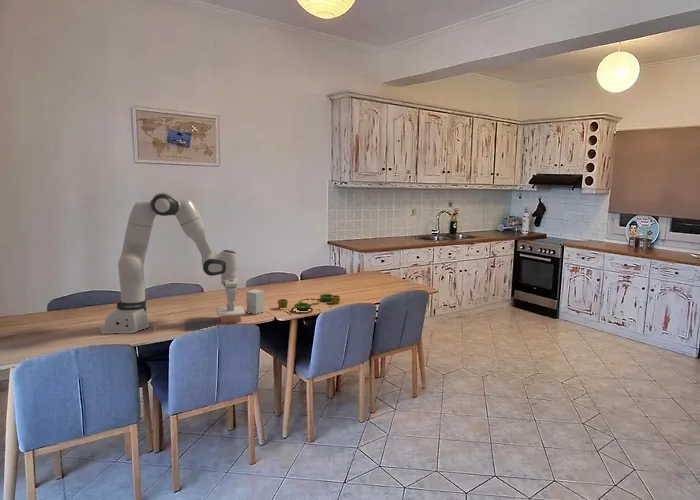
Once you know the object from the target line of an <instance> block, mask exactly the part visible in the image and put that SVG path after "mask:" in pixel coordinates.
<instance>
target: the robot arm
mask: <svg viewBox="0 0 700 500" xmlns="http://www.w3.org/2000/svg"><path fill="white" fill-rule="evenodd" d="M156 216H161V217H167V216H174V217H175V218H176V220H177V222H178V224H179V226H180V228H181V229H182V231H183V233H184V234H185V235H186V237H188V238H190V240H192V241H193V243H194V244H195V245H196V247H197V249H198V251H199V253H200V255H201V265H202V271H203V272H204V273H205V274H206V275H207V276H210V277H214V276H218V275H221V276H220V279H221V280H220V282H221V284H220V285H222V286H223V288H224V292H225V296H226V300H227V303H229V308H230V309H232V308H233V304H234V302H236V300H237V299H236V297H237V288H238V286H239V271H238V268H239V259H238V258H239V257H238V253H237V252H235V251H234V250H231V249H230V250H229V249H224V250H221V252H219V253H217V254H216V253H215V252H214V250H213V249H212V246H211V245H210V242H209V241H208V238H207V233H206V226H205V223H204V220H203V218H202V216H201V214H200V212H199V210H198V208H197V207H196V204H194V203H193V201H192V200H190V199H187V198H184V199H180V200H177V199H175V198H174V196H173V195H172V194H171V193H168V192H159V193H157V194H155V195H154V196H153V197H152V199H151V200H150V201H149V202H148V201H147V202H146V201H139V202H136V203H135V204H134V205H133V206H132V209H131V212H130V214H129V218H128V221H127V225H126V228H125V229H126V230H125V233H124V239H123V243H122V244H123V245H122V250H121V255H120V258H119V259H118V263H117V268H118V278H119V279H118V280H119V286H120V287H119V288H120V299H118V300H117V301H116V309H115V310H112V312H110V313H109V314H108V315H107V317H106V318H105V320H104V321H105V322H104V324H103V325H102V326H101V327H100V328H99V333H100V334H103V335H106V334H110V335H111V334H112V335H113V333H119V334H135V333H137V331H138V332H139V330H141V331H143V330H142V329H144V330H146V329H145V328H147V329H148V327H149V326H151V325H150V324H151V323H150V322H149V318H148V315H147V311H148V310H147V309H148V303H147V299H146V283H145V272H144V265H145V262H146V261H145V260H146V256H147V251H148V246H149V242H150V239H151V234H152V229H153V226H154V220H155V219H156ZM149 328H150V327H149ZM134 332H135V333H134Z"/></svg>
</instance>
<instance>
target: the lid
mask: <svg viewBox="0 0 700 500" xmlns="http://www.w3.org/2000/svg"><path fill="white" fill-rule="evenodd" d="M215 311H216V315H217V317H220V316H231V315H241V316H243V315H246V312H245V310H244V306H243V305H239V306H238V305H236V306H235V304H234V303H233V308H232V309H230V308H229V303H228V302H226V306H221V307H219V306H218V307H215Z"/></svg>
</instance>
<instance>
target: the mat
mask: <svg viewBox="0 0 700 500" xmlns="http://www.w3.org/2000/svg"><path fill="white" fill-rule="evenodd" d="M216 325H218V326H219V324H218V320H217V319H209V320H208V319H206V320H193V321H184V332H196V330H200V329H203V328H208V327H212V326H216ZM200 331H201V330H200Z"/></svg>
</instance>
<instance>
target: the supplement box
mask: <svg viewBox="0 0 700 500" xmlns="http://www.w3.org/2000/svg"><path fill="white" fill-rule="evenodd" d="M245 295H246V313H247V312H249V313H254V314H257V313H260V312H263V311H264V312H265V291H264V290H261V289H255V288H254V289H251V290H247V291H246V294H245ZM264 312H263V313H264ZM249 313H248V314H249ZM254 314H253V315H254ZM260 314H261V313H260ZM257 315H258V314H257Z"/></svg>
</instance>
